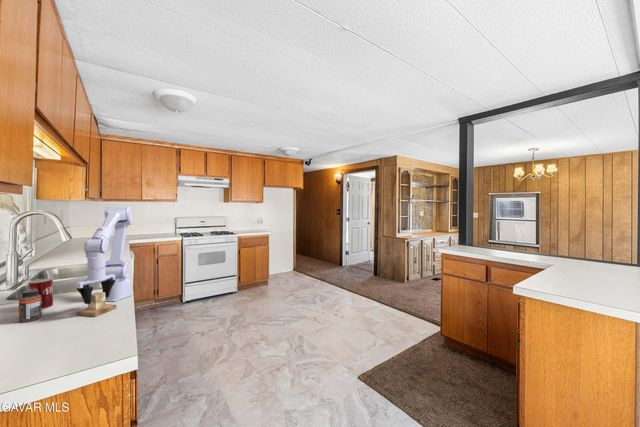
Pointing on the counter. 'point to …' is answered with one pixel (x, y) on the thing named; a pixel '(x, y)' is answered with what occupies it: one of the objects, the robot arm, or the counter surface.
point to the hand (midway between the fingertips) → (97, 300)
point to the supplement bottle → (30, 306)
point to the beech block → (97, 301)
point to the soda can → (43, 291)
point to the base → (96, 311)
